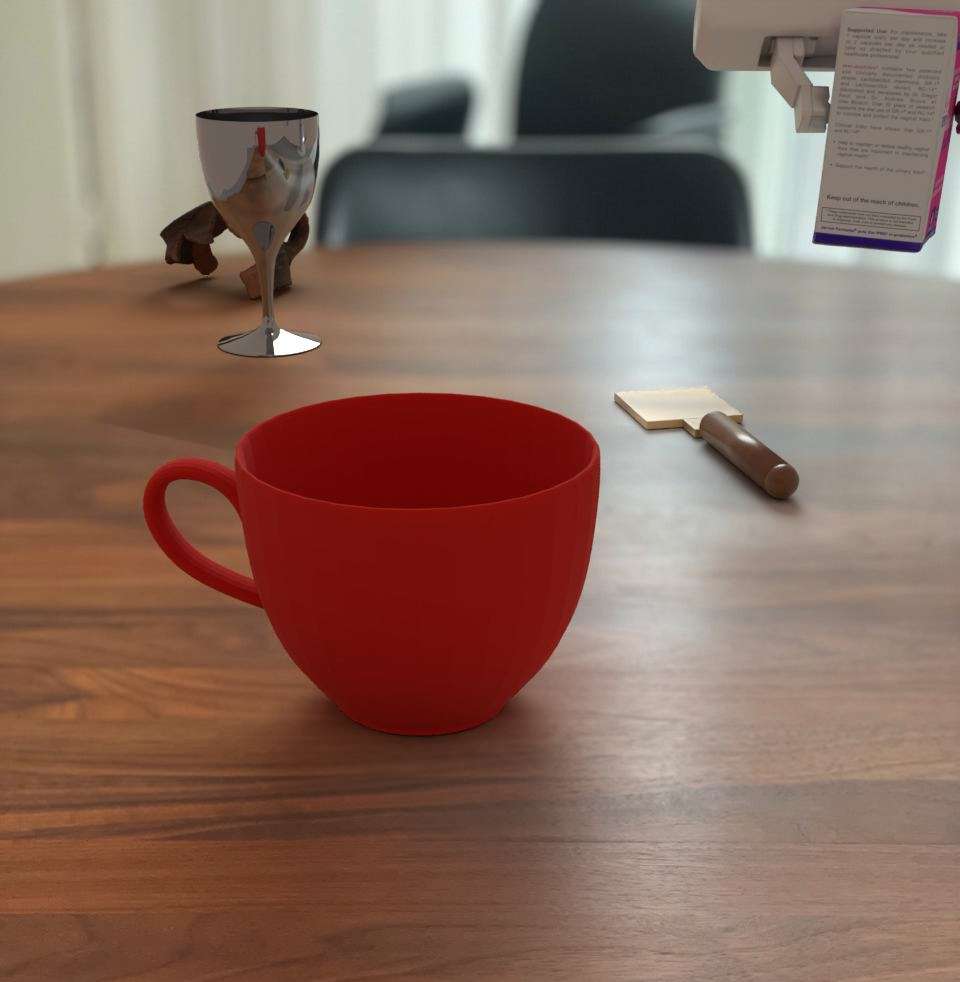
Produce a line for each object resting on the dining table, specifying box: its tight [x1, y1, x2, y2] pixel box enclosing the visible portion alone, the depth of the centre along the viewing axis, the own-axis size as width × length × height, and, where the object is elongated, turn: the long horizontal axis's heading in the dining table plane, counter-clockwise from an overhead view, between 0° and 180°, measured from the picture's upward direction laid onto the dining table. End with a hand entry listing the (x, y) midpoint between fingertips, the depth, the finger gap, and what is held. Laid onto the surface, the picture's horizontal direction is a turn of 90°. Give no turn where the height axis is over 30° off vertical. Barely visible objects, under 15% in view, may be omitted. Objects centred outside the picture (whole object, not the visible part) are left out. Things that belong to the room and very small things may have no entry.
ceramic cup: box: [142, 392, 601, 737], centre depth 55 cm, size 13×17×10 cm
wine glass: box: [194, 106, 322, 357], centre depth 100 cm, size 8×8×15 cm
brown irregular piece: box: [159, 200, 311, 300], centre depth 118 cm, size 12×10×8 cm
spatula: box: [613, 385, 800, 499], centre depth 84 cm, size 19×6×2 cm, turn 14°
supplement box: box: [811, 7, 960, 254], centre depth 78 cm, size 6×6×12 cm
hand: (895, 126), depth 77 cm, fingers closed on supplement box, 7 cm apart
